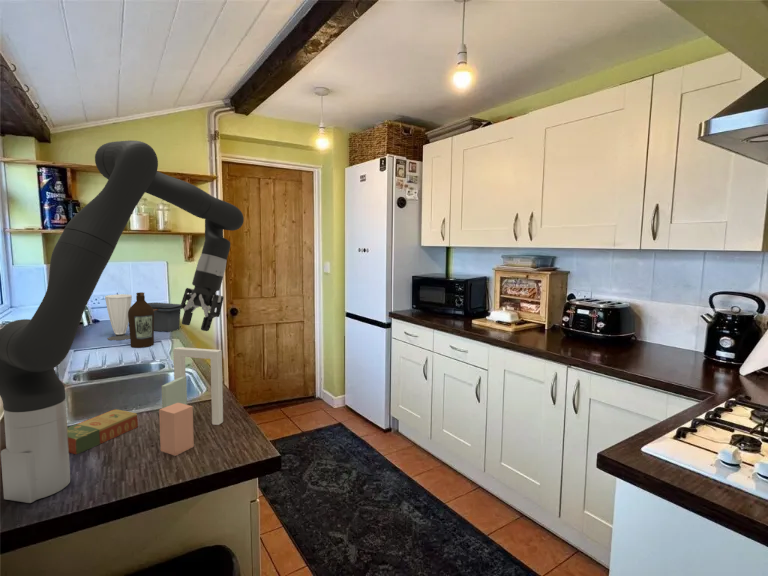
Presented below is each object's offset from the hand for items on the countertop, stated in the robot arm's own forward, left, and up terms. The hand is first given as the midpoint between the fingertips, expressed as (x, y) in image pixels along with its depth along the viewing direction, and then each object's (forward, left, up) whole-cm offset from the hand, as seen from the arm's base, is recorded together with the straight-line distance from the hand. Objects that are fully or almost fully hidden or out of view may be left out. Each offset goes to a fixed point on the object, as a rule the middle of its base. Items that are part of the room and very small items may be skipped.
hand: (194, 327), depth 119 cm
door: (-10, -1, -24) cm, 26 cm away
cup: (+75, +95, -25) cm, 124 cm away
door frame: (-6, -5, -25) cm, 26 cm away
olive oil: (+64, +73, -25) cm, 100 cm away
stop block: (-21, -9, -25) cm, 33 cm away
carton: (-20, +14, -25) cm, 35 cm away
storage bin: (+97, +89, -25) cm, 135 cm away
